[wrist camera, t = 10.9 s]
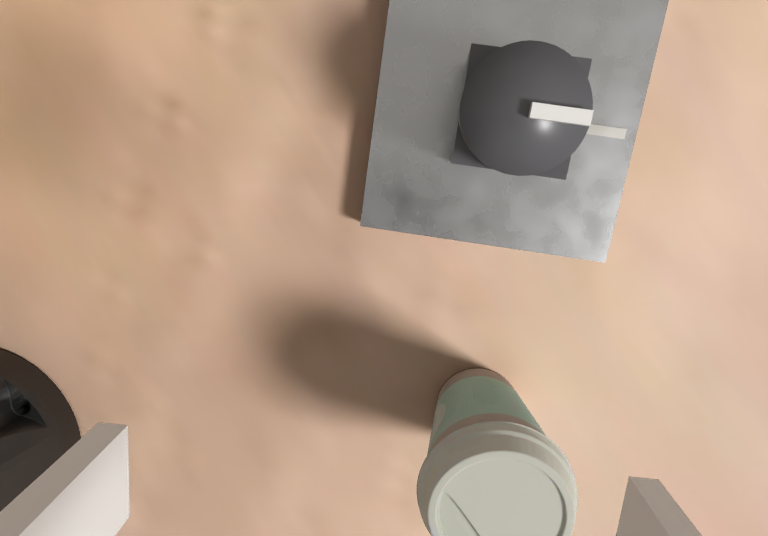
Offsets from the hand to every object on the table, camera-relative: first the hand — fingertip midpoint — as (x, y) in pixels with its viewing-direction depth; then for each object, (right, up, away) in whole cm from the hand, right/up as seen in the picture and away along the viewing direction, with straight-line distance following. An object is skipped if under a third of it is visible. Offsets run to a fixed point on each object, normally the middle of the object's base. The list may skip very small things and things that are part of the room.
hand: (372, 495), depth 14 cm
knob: (+8, +15, +19) cm, 25 cm away
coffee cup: (+7, -4, +25) cm, 26 cm away
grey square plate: (+8, +16, +20) cm, 27 cm away
